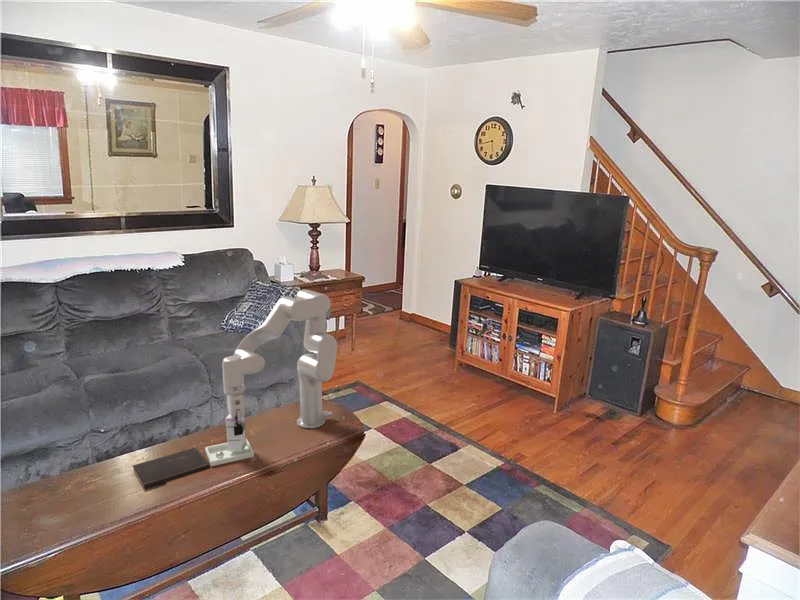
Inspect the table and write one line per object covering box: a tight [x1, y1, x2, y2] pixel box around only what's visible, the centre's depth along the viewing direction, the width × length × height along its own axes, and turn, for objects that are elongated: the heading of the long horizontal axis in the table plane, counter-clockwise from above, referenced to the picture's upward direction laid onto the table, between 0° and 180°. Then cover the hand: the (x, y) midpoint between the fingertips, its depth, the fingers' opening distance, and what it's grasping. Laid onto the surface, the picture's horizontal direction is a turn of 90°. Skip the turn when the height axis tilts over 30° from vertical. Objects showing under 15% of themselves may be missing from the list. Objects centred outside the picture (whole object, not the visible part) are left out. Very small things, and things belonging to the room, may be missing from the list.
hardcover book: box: [132, 447, 211, 490], centre depth 200 cm, size 16×23×2 cm
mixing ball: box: [216, 451, 224, 459], centre depth 206 cm, size 3×3×3 cm
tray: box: [205, 438, 255, 467], centre depth 210 cm, size 16×12×2 cm
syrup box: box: [225, 413, 247, 452], centre depth 211 cm, size 6×6×14 cm
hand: (236, 429), depth 210 cm, fingers closed on syrup box, 7 cm apart
